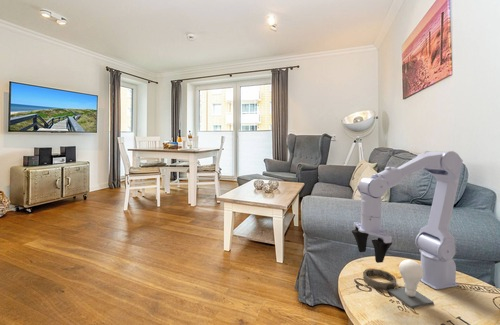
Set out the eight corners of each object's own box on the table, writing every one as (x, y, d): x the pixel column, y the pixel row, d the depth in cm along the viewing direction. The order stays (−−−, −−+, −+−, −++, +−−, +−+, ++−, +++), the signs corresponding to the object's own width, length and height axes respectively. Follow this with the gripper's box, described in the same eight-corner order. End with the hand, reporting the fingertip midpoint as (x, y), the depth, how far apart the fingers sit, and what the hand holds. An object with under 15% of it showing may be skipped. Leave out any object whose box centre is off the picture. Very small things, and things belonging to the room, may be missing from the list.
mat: (409, 288, 75) (409, 286, 75) (433, 303, 68) (433, 301, 68) (388, 291, 74) (388, 289, 74) (410, 308, 66) (410, 306, 66)
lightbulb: (427, 303, 67) (428, 266, 66) (404, 301, 68) (405, 264, 67) (415, 290, 73) (416, 256, 72) (394, 289, 74) (395, 255, 73)
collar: (380, 272, 85) (380, 267, 85) (402, 287, 76) (403, 281, 76) (357, 276, 83) (357, 270, 83) (377, 291, 74) (377, 285, 74)
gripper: (345, 210, 81) (345, 248, 82) (377, 222, 67) (376, 269, 67) (363, 209, 82) (362, 246, 83) (397, 220, 68) (397, 266, 69)
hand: (370, 256), depth 75 cm, fingers open, 7 cm apart
